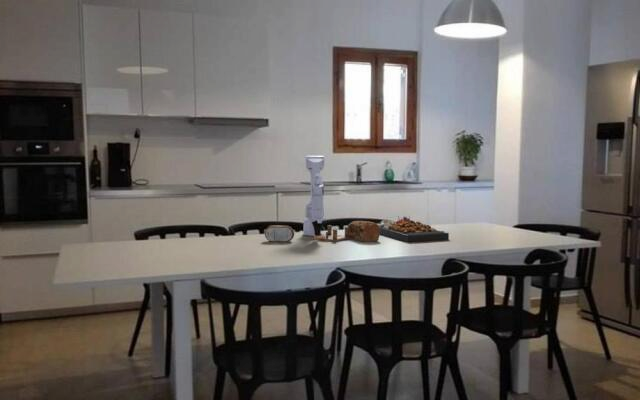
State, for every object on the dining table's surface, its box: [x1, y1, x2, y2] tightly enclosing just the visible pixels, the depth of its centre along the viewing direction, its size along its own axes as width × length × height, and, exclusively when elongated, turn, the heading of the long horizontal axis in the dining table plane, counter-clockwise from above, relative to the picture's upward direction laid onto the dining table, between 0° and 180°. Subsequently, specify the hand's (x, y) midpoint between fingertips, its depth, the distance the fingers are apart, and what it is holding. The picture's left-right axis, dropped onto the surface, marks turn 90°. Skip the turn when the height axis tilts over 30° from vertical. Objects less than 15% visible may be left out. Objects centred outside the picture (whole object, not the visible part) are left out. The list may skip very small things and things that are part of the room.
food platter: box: [375, 215, 450, 244], centre depth 304 cm, size 45×25×10 cm, turn 22°
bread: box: [347, 220, 380, 243], centre depth 290 cm, size 19×11×10 cm, turn 21°
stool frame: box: [313, 224, 351, 243], centre depth 290 cm, size 14×14×6 cm
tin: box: [264, 224, 295, 243], centre depth 281 cm, size 15×3×8 cm, turn 84°
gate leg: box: [313, 233, 325, 239], centre depth 284 cm, size 6×2×5 cm, turn 110°
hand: (317, 235), depth 280 cm, fingers closed
